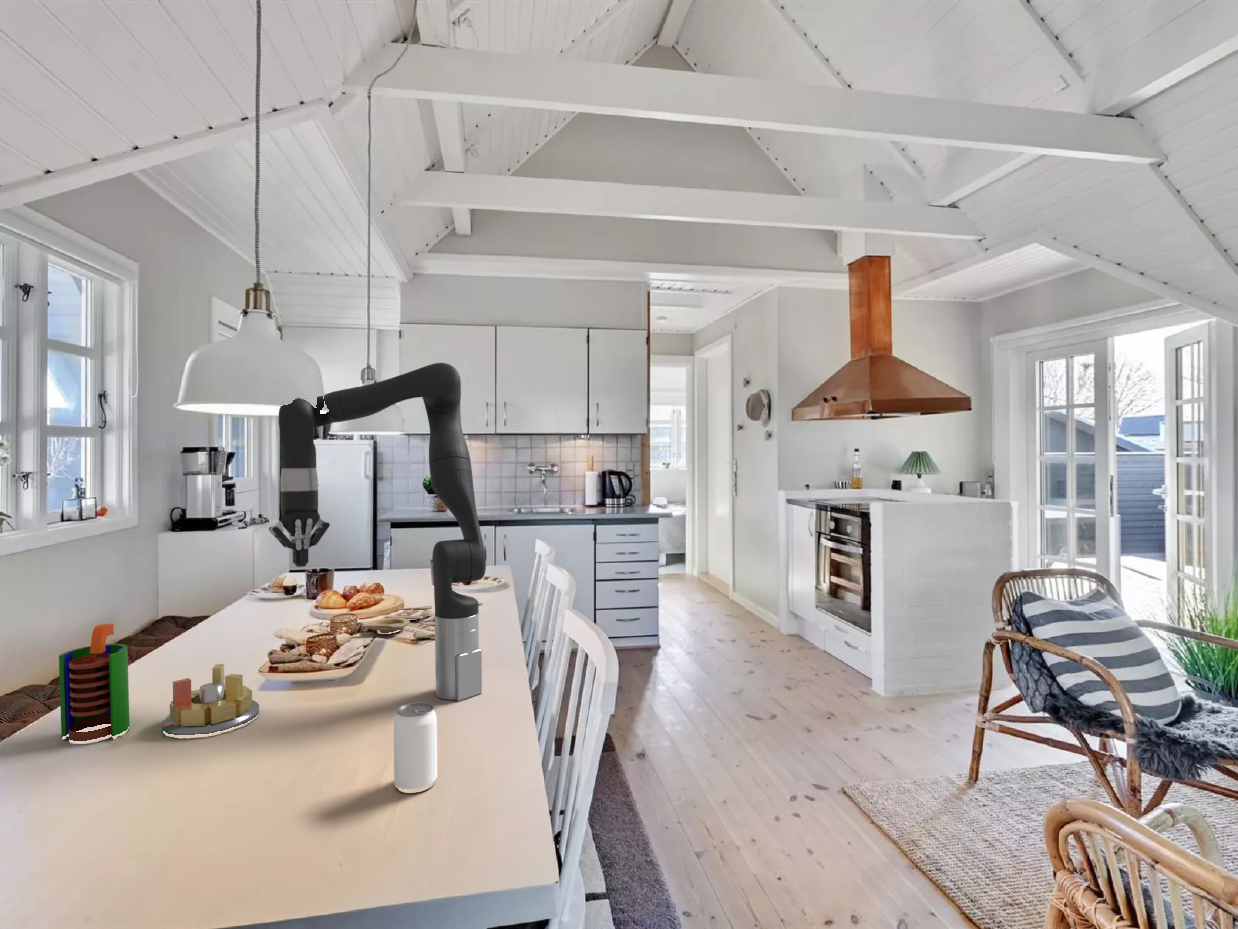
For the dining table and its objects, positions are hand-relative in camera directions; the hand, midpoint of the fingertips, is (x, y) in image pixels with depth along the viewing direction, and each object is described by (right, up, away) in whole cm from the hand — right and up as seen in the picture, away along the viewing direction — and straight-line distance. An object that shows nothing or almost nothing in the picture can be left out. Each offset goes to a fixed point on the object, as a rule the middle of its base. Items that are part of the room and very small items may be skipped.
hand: (300, 566), depth 147 cm
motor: (-26, -28, -24) cm, 45 cm away
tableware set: (+12, -27, +53) cm, 60 cm away
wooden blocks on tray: (-8, -26, -18) cm, 33 cm away
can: (+39, -28, -43) cm, 64 cm away
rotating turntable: (-8, -27, -18) cm, 34 cm away
